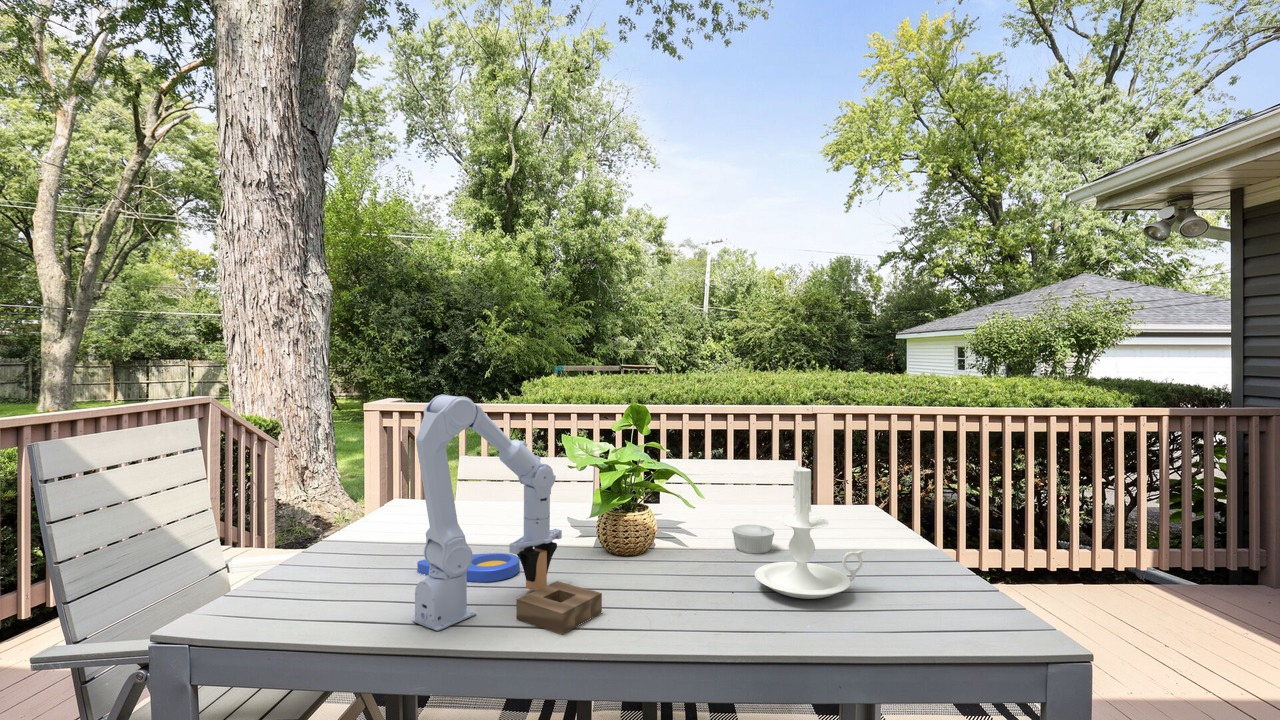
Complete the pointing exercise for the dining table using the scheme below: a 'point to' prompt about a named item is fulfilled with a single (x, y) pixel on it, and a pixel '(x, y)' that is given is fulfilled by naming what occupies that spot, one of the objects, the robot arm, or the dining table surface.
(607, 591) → the dining table surface
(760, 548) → the ramekin
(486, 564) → the location marker
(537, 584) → the peg
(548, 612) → the socket block
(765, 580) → the candlestick
